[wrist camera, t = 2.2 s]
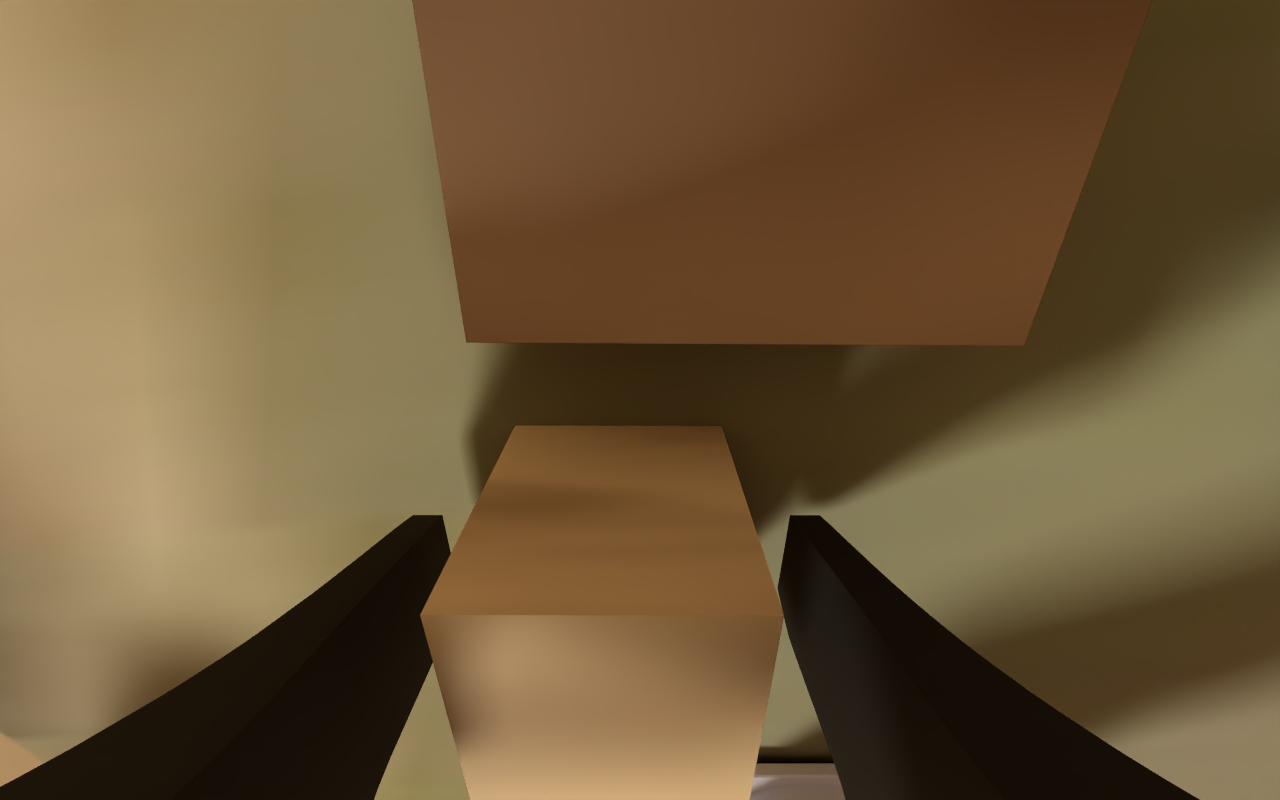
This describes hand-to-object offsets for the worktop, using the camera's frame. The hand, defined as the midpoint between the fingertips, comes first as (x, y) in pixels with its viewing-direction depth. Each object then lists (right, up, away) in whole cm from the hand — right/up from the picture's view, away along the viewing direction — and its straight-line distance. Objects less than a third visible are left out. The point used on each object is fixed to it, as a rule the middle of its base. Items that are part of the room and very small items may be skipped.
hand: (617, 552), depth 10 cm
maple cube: (0, +1, +1) cm, 2 cm away
